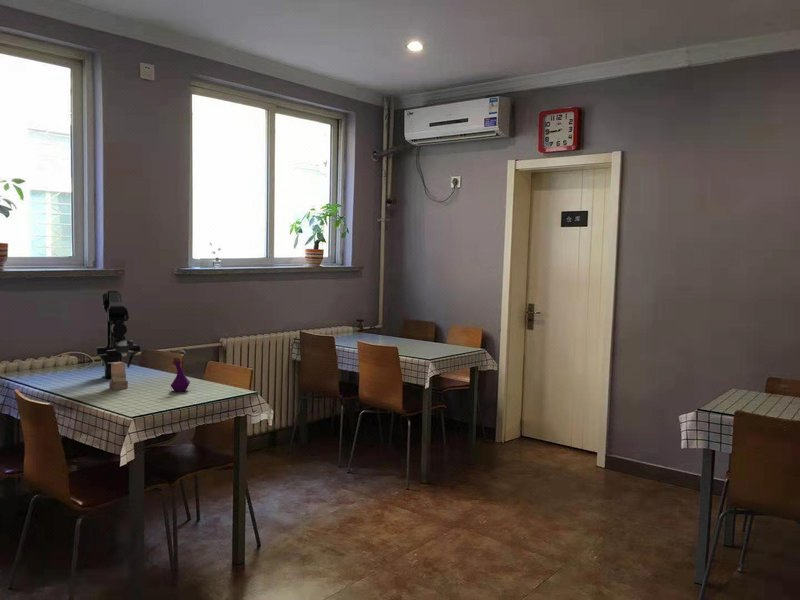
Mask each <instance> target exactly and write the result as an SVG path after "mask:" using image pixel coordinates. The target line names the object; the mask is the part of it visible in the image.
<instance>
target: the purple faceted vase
mask: <svg viewBox="0 0 800 600" xmlns="http://www.w3.org/2000/svg"><path fill="white" fill-rule="evenodd" d="M180 352H183V353H184V354H185V355H187V354H186V351H185V350H183V349H182V350H180V351H178V352H177V354H176V356H174V357H173V361H172V364H174V366H175V368H176V375H175V378H174V379H173V381H172V383H171V384H170V387H171V389H172V390H173V391H174V392H175V393H186V391H187V389H188V388H189V387H190V384H191V380H189V378H187V376H186V374H185V373H184V372H183V368H182V366H181V365H182V360H181V357H179V356H178V355H179V353H180Z"/></svg>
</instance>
